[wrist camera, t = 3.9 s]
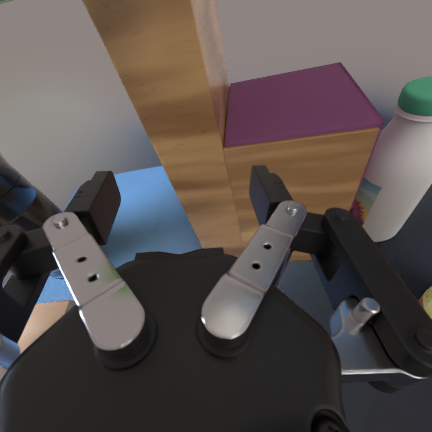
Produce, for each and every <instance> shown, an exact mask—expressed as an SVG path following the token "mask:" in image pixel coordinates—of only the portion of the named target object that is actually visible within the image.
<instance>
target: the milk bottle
mask: <svg viewBox="0 0 432 432" xmlns="http://www.w3.org/2000/svg"><path fill="white" fill-rule="evenodd" d="M395 111H396V114H395V116H394V117H393V119H392V120H391V121H390V123H389V124H388V125H387V126H386V127H385V128H384V129H383V131H381V133H380V136H379V138H378V141H377V143H376V146H375V149H374V151H373V154H372V157H371V159H370V162H369V164H368V167H367V170H366V172H365V175H364V178H363V180H362V183H361V185H360V188H359V191H358V193H357V196H356V198H355V201H354V204H353V206H352V209H350V210H349V212H351V213H352V214H353V215H354V216H355V217H356V219H357V220H358V221H359V223H360V224H361V225H362V227H363V228H364V229H365V231H366V232H367V233H368V235H369V236H370V237H371V239H372V240H373V241H374V242H380V241H385V240H388V239H390V238H392V237H393V236H395V235H396V234H397V232H398V231H399V230H400V228H401V227H402V226H403V224H404V223H405V221H406V220H407V219H408V217H409V216H410V214H411V213H412V211H413V210H414V209H415V207H416V206H417V204H418V203H419V201H420V200H421V198H422V197H423V196H424V194H425V193H426V191H427V190H428V188H429V187H430V185H431V184H432V77H423V78H419V79H415V80H412V81H411V82H409V83H407V84H406V85H405V86H404V88H403V89H402V92H401V94H400V96H399V99H398V104H397V105H396V106H395Z"/></svg>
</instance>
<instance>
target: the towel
mask: <svg viewBox="0 0 432 432" xmlns="http://www.w3.org/2000/svg"><path fill="white" fill-rule="evenodd" d="M384 123H385V121H384V119H383V118H382V117H381V115H380V114H379V113H378V111H377V110H376V109H375V107H374V106H373V105H372V103H371V102H370V101H369V99H368V98H367V97H366V96H365V94H364V93H363V91H362V90H361V89H360V87H359V86H358V85H357V83H356V82H355V81H354V79H353V78H352V77H351V76H350V74H349V73H348V71H347V70H346V69H345V67H344V66H343V65H342V63H340V62H339V63H334V64H330V65H324V66H319V67H314V68H309V69H304V70H298V71H293V72H288V73H283V74H278V75H273V76H267V77H263V78H257V79H252V80H247V81H242V82H237V83H231V84H230V93H229V103H228V114H227V124H226V135H225V147H231V146H238V145H246V144H253V143H261V142H268V141H276V140H283V139H290V138H298V137H305V136H313V135H320V134H327V133H335V132H342V131H350V130H357V129H365V128H372V127H379V129H380V130H379V133H378V135H377V138H376V141H375V143H374V146H373V149H372V151H371V154H370V157H369V159H368V162H367V165H366V167H365V170H364V173H363V175H362V178H361V181H360V183H359V186H358V189H357V191H356V194H355V197H354V199H353V202H352V205H351V208H350V209H352V206H353V204H354V201H355V198H356V196H357V193H358V191H359V188H360V185H361V183H362V180H363V178H364V175H365V172H366V170H367V167H368V164H369V162H370V159H371V157H372V154H373V151H374V149H375V146H376V143H377V141H378V138H379V136H380V133H381V130H382V128H383V125H384Z"/></svg>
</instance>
